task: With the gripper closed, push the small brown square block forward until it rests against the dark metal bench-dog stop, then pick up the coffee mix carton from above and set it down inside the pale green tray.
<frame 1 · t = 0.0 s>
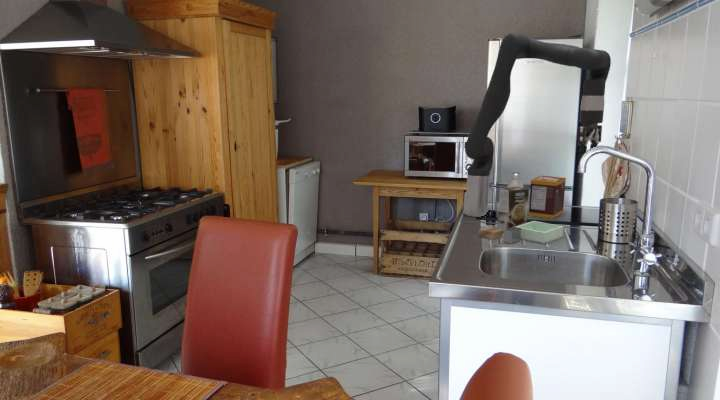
hand: (587, 155, 189), 29 cm above the counter, tool pointing down, fingers open, 8 cm apart
green tray: (538, 237, 191), on the counter
brown square block: (490, 237, 192), on the counter
supplement box: (545, 214, 229), on the counter
plastic bottle: (512, 223, 213), on the counter
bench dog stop: (511, 241, 186), on the counter
coffee box: (511, 230, 201), on the counter
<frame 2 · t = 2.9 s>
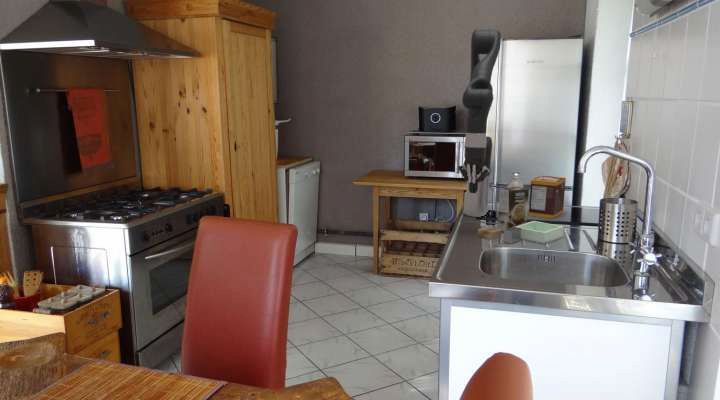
hand: (473, 192, 195), 15 cm above the counter, tool pointing down, fingers closed
nothing on the counter moved.
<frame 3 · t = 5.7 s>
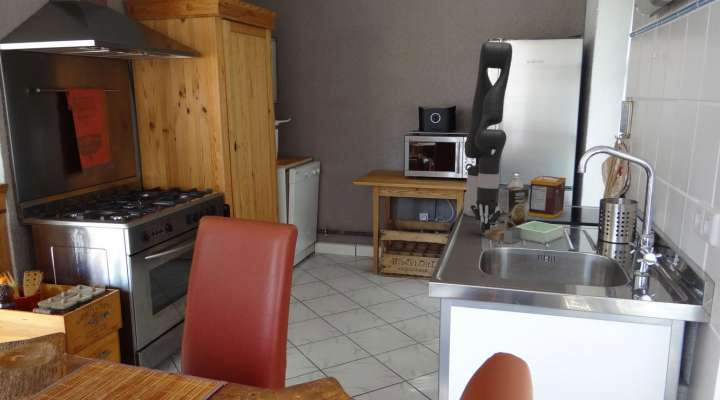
hand: (485, 232, 193), 1 cm above the counter, tool pointing down, fingers closed
brown square block: (496, 238, 190), on the counter, touching gripper
everything else where it was.
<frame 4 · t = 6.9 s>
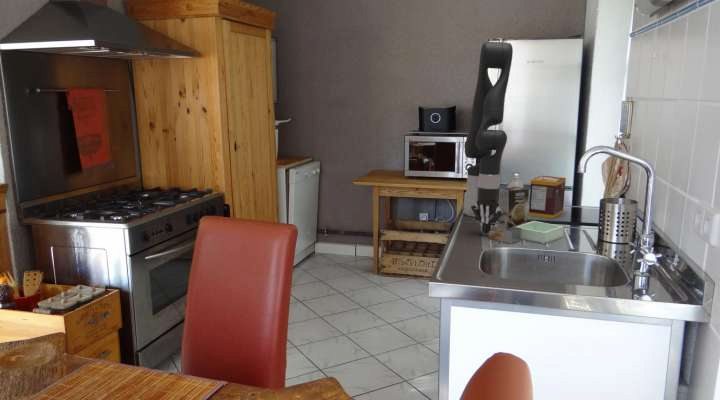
hand: (486, 232, 193), 1 cm above the counter, tool pointing down, fingers closed
brown square block: (500, 239, 189), on the counter
everything else where it was.
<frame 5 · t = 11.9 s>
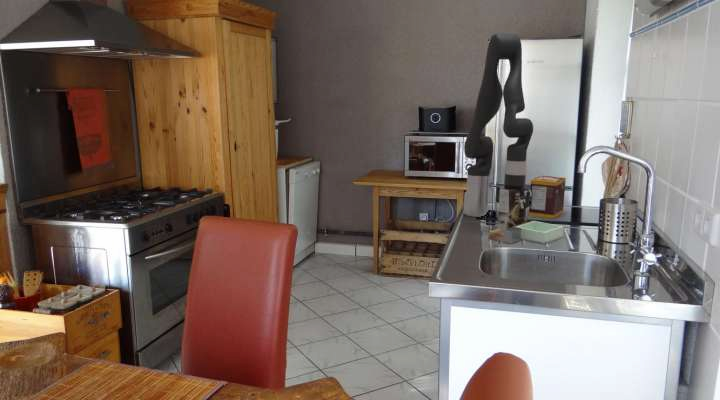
hand: (512, 216, 200), 5 cm above the counter, tool pointing down, fingers closed on coffee box, 7 cm apart
coffee box: (511, 230, 201), on the counter, touching gripper
everything else where it was.
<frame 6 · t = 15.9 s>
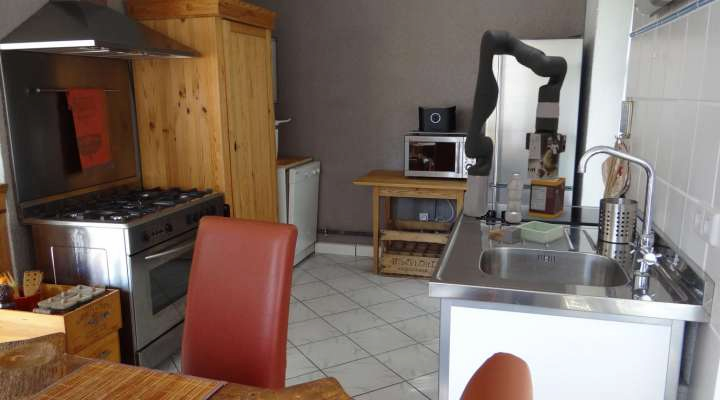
hand: (543, 163, 186), 27 cm above the counter, tool pointing down, fingers closed on coffee box, 7 cm apart
coffee box: (542, 179, 187), point 21 cm above the counter, touching gripper
everything else where it was.
when the fingers open (8 cm above the counter, at t = 19.9 s): coffee box drops 1 cm, resting on green tray.
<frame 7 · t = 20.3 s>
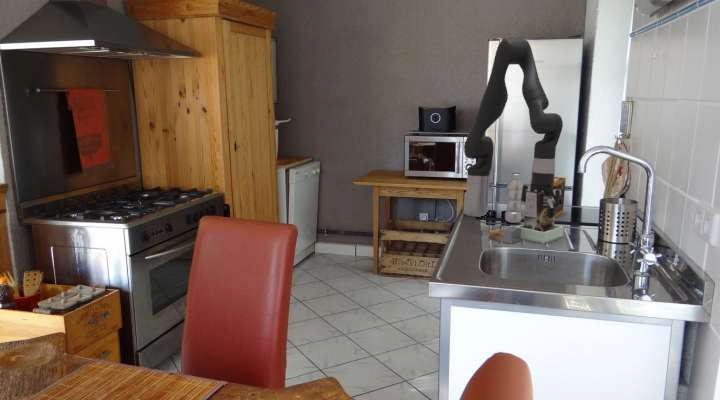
hand: (539, 216, 190), 8 cm above the counter, tool pointing down, fingers open, 8 cm apart
coffee box: (538, 236, 191), resting on green tray
everything else where it was.
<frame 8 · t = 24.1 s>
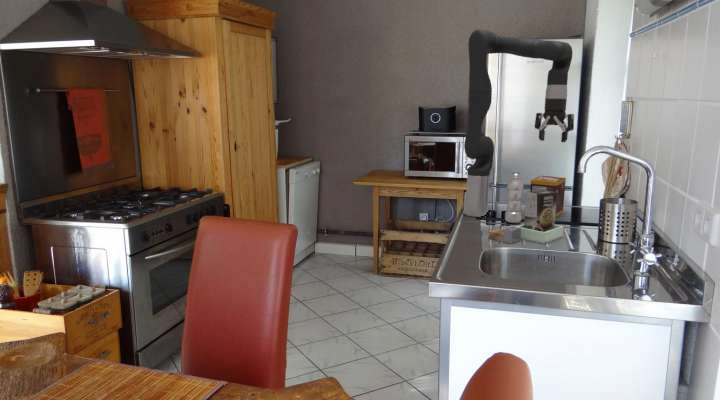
hand: (552, 141, 200), 33 cm above the counter, tool pointing down, fingers open, 8 cm apart
nothing on the counter moved.
at the end: brown square block 1.0 cm from the target spot on the counter beside the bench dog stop, on the counter; coffee box inside the target area on the green tray (0.1 cm from its centre), point 0.4 cm above the green tray's base; coffee box tilted 0° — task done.
